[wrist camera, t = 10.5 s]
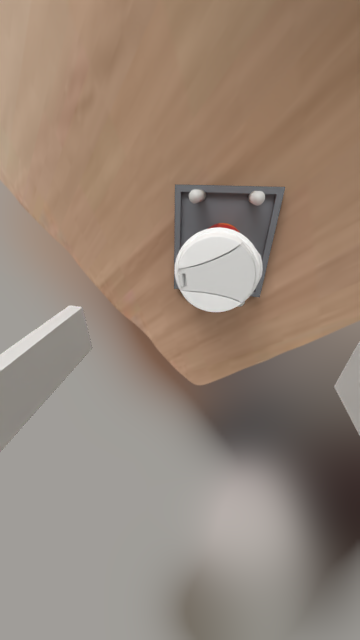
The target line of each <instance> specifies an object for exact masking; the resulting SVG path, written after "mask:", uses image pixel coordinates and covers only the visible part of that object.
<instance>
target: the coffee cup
mask: <svg viewBox="0 0 360 640" xmlns="http://www.w3.org/2000/svg"><path fill="white" fill-rule="evenodd" d="M262 270H263V268H262V259H261V255H260V254H259V253H258V251H257V250H256V248H255V247H254V245H253V244H252V243H251V242H250V241H249V239H248V238H246V237H245V236H244V235H242V234H241V233H240V232H239V231H238V230H237V229H236V228H235V227H234V226H232V225H230V224H227V223H218V224H215V225H213V226H211V227H209V228H208V229H205V230H203V231H200V232H198V233H196V234H195V235H193V236H192V237H190V238H189V239H188V240H187V241H186V242H185V243H184V245H183V246H182V247H181V249H180V251H179V253H178V255H177V258H176V262H175V270H174V271H175V279H176V283H177V285H178V287H179V289H180V291H181V293H182V294H183V296H184V297H185V298H186V299H187V301H189V302H190V303H191V304H192V305H194V306H195V307H197V308H199V309H201V310H205V311H209V312H224V311H228V310H231V309H233V308H235V307H237V306H239V305H240V304H241V303H243V302H244V301H245V300H247V299H248V298H249V297H250V295H251V294H252V293H253V291H254V290H255V289H256V286H257V284H258V282H259V280H260V278H261V277H262Z"/></svg>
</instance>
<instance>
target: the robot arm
mask: <svg viewBox="0 0 360 640" xmlns="http://www.w3.org/2000/svg"><path fill="white" fill-rule="evenodd" d="M91 349H92V345H91V341H90V337H89V332H88V328H87V324H86V320H85V315H84V311H83V307H77V306H68V307H67V308H65V309H64V310H62V311H61V312H60V313H58V314H57V315H55V316H54V317H52V318H51V319H50V320H48V321H47V322H45V323H44V324H43V325H41V326H40V327H38V328H37V329H36V330H34V331H33V332H31V333H30V334H28V335H27V336H26V337H24V338H23V339H21V340H20V341H19V342H17V343H16V344H14V345H13V346H12V347H10V348H9V349H7V350H6V351H4V352H3V353H2V354H0V452H1V451H2V450H3V449H4V447H5V446H6V445H7V444H8V443H9V442H10V441H11V439H12V438H13V437H14V436H15V435H16V434H17V433H18V432H19V430H20V429H21V428H22V427H23V426H24V425H25V424H26V423H27V421H28V420H29V419H30V418H31V417H32V416H33V415H34V414H35V412H36V411H37V410H38V409H39V408H40V407H41V406H42V404H43V403H44V402H45V401H46V400H47V399H48V398H49V397H50V395H51V394H52V393H53V392H54V391H55V390H56V389H57V387H58V386H59V385H60V384H61V383H62V382H63V381H64V380H65V378H66V377H67V376H68V375H69V374H70V373H71V372H72V371H73V369H74V368H75V367H76V366H77V365H78V364H79V363H80V362H81V360H82V359H83V358H84V357H85V356H86V355H87V354H88V352H89V351H90V350H91ZM334 388H335V389H336V391H337V393H338V395H339V397H340V399H341V401H342V403H343V405H344V407H345V409H346V411H347V412H348V414H349V416H350V418H351V420H352V422H353V424H354V426H355V428H356V430H357V431H358V433H359V435H360V342H359V343H358V345H357V347H356V348H355V350H354V352H353V354H352V355H351V357H350V359H349V361H348V362H347V364H346V366H345V368H344V369H343V371H342V373H341V375H340V377H339V379H338V380H337V382H336V384H335V386H334Z"/></svg>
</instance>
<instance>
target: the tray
mask: <svg viewBox="0 0 360 640" xmlns="http://www.w3.org/2000/svg"><path fill="white" fill-rule="evenodd" d="M284 190H285V187H261V186H216V185H175V253H174V270H175V262H176V258H177V255H178V253H179V251H180V249H181V247H182V246H183V245H184V243H185V242H186V241H187V240H188V239H189V238H190V237H192V236H193V235H195V234H196V233H198V232H200V231H203V230H205V229H208V228H209V227H211V226H213V225H215V224H218V223H227V224H230V225H232V226H234V227H235V228H236V229H237V230H238V231H239V232H240V233H241V234H242V235H244V236H245V237H246V238H248V239H249V241H250V242H251V243H252V244H253V245H254V247H255V248H256V250H257V251H258V253H259V254H260V255H261V259H262V268H263V270H262V277H261V278H260V280H259V282H258V284H257V286H256V289H255V290H254V291H253V293H252V294H251V295H250V296H253V297H260V293H261V289H262V285H263V280H264V276H265V272H266V268H267V263H268V259H269V255H270V250H271V246H272V242H273V237H274V233H275V229H276V225H277V220H278V216H279V212H280V207H281V203H282V199H283V194H284ZM174 289H179V287H178V285H177V283H176V279H175V271H174ZM186 300H187V299H186ZM244 303H245V301H244V302H243V303H241V304H240V305H239V306H238V307H240V306H243V305H244Z"/></svg>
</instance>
